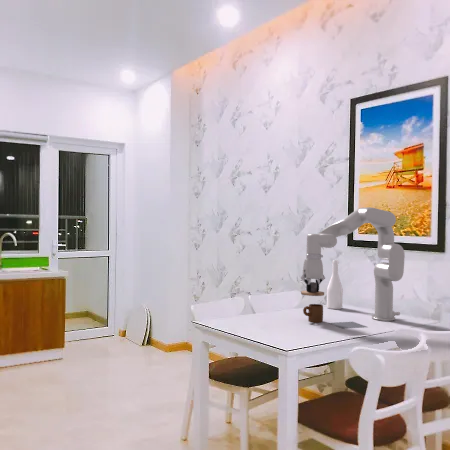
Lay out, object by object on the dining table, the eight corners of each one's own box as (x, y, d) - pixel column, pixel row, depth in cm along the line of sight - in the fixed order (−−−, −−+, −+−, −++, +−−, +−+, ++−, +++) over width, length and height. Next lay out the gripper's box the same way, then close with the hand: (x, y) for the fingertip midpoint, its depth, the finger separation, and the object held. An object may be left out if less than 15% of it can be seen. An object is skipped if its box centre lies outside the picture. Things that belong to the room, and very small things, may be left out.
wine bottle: (345, 308, 309) (346, 260, 309) (334, 309, 304) (335, 260, 304) (334, 306, 317) (335, 259, 317) (323, 307, 313) (324, 259, 312)
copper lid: (317, 292, 270) (317, 281, 270) (328, 295, 259) (328, 283, 259) (297, 292, 266) (297, 281, 266) (307, 296, 255) (308, 284, 255)
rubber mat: (352, 323, 265) (352, 321, 265) (368, 328, 251) (368, 327, 251) (327, 324, 260) (328, 322, 260) (342, 330, 247) (342, 328, 247)
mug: (307, 325, 257) (308, 307, 256) (298, 322, 263) (299, 304, 263) (325, 323, 262) (326, 305, 262) (316, 320, 269) (316, 303, 269)
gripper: (324, 256, 269) (323, 290, 269) (296, 256, 263) (295, 291, 264) (331, 257, 262) (330, 292, 262) (302, 257, 256) (301, 293, 256)
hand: (312, 291), depth 263 cm, fingers closed on copper lid, 4 cm apart
